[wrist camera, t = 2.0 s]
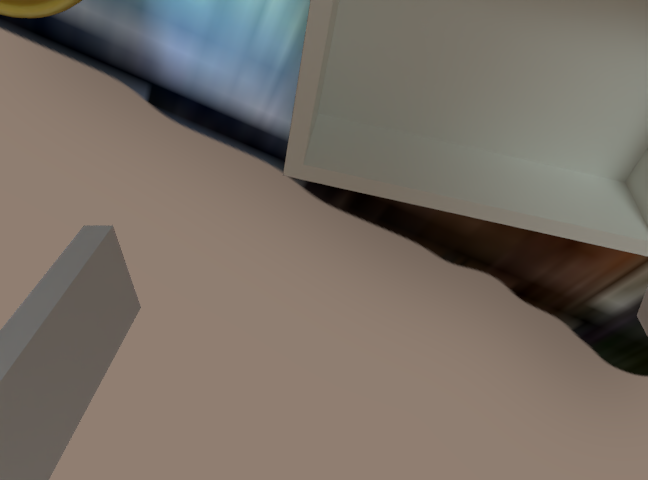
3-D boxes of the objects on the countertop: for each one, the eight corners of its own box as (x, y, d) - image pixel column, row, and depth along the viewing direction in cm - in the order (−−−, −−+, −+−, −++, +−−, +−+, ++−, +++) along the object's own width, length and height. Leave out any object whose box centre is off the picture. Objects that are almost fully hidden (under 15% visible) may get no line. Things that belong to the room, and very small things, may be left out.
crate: (363, -244, 24) (349, -248, 19) (840, -130, 25) (955, -103, 20) (302, 116, 36) (282, 175, 31) (626, 188, 37) (662, 259, 31)
